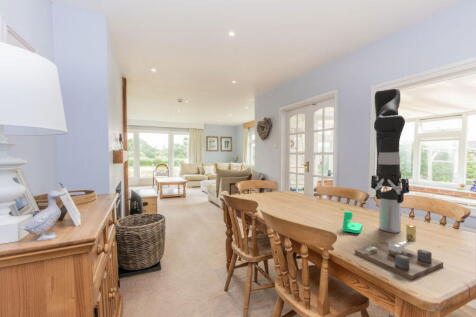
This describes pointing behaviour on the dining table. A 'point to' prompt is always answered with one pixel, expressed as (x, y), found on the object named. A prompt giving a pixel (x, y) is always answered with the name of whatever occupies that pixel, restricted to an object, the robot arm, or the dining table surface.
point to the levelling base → (391, 261)
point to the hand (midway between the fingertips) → (388, 200)
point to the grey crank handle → (399, 247)
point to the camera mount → (350, 223)
